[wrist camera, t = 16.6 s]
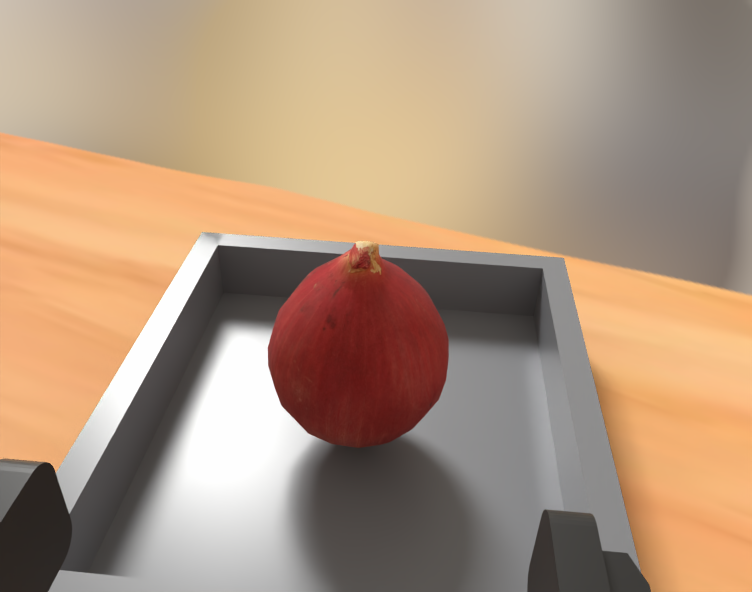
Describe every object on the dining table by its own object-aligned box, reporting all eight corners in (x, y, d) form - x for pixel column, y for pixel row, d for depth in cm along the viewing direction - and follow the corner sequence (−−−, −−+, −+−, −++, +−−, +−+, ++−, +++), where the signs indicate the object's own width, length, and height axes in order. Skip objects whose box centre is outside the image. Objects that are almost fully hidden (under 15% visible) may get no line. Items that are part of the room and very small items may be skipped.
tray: (16, 677, 19) (-21, 600, 17) (209, 296, 34) (202, 232, 32) (630, 745, 18) (665, 673, 16) (550, 322, 33) (563, 257, 31)
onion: (244, 422, 25) (223, 226, 21) (372, 362, 28) (377, 179, 24) (337, 532, 22) (336, 322, 17) (473, 449, 25) (502, 252, 20)
